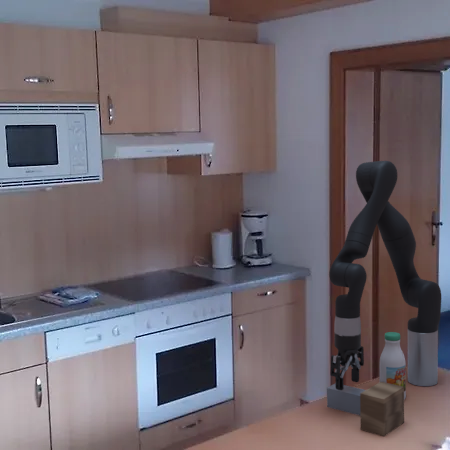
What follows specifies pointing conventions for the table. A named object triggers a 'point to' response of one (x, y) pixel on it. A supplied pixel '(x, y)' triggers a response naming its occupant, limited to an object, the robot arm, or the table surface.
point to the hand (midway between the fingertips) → (347, 385)
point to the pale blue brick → (344, 399)
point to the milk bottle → (393, 362)
